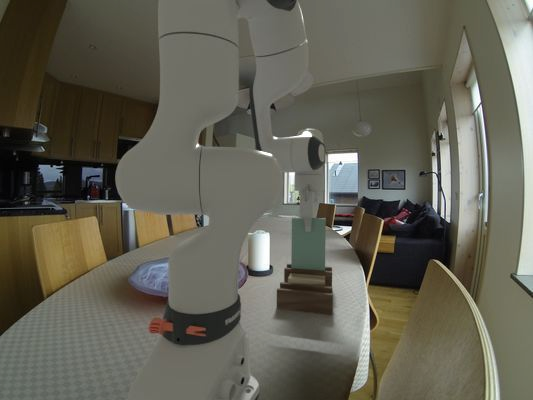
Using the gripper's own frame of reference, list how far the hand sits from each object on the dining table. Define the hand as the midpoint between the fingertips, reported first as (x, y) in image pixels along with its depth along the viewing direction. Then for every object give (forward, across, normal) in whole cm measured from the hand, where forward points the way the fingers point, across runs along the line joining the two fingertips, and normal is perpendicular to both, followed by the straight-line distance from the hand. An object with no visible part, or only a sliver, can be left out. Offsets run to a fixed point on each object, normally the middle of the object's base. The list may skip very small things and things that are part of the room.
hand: (308, 230), depth 78 cm
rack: (+20, -5, 0) cm, 21 cm away
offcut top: (+14, -5, 0) cm, 15 cm away
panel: (+12, 0, 0) cm, 12 cm away
